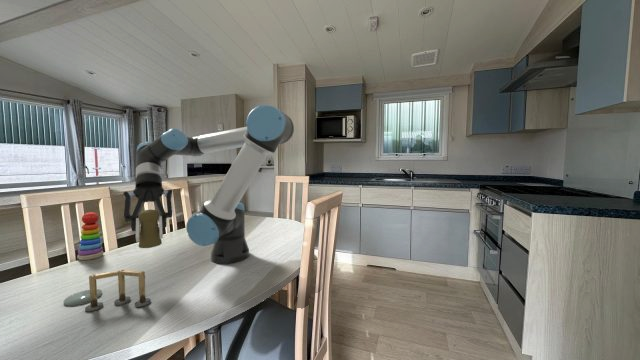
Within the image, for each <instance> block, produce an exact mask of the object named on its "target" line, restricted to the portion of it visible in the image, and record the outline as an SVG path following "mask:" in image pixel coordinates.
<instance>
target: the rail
mask: <svg viewBox="0 0 640 360" xmlns="http://www.w3.org/2000/svg"><path fill="white" fill-rule="evenodd" d="M125 276H127V277H136V278H137V277H138V292H139V293H138V294H139V299H138V300H137V301H135V303H134V308H144V307H147V306H148V305H150V304H151V302H152V301H151V298H149V297H147V296H146V274H145V271H144V270H143V271H141V270H140V271H139V270H138V271H137V270H127V269H119V270H115V271H109V272H104V273H97V274H91V275H89V276H88V283H89V290H90V302H89V303H90V304H88V305H87V306H86V307H85V308H84V311H85V313H92V312H93V313H94V312H96V311H99V310H100V309H102V308H103V307H104V302H101V301H99V302H98V298H97V289H98V286H97V284H98V283H97V280H101V279H105V278H112V277H117V280H118V281H117V282H118V298H117V299H115V300H114V302H113V304H114V306H117V307H118V306H122V305H125V304H129V303H130V302H131V297H130V296H127V295H126V279H125V278H126V277H125Z"/></svg>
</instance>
